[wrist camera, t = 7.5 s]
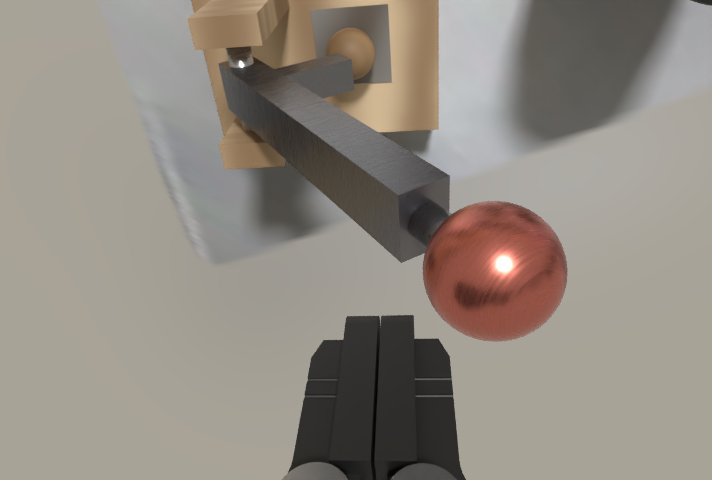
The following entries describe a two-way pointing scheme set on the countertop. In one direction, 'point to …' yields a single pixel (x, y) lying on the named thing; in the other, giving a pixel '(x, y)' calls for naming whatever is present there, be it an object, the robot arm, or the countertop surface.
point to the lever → (403, 199)
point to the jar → (703, 2)
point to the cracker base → (362, 99)
